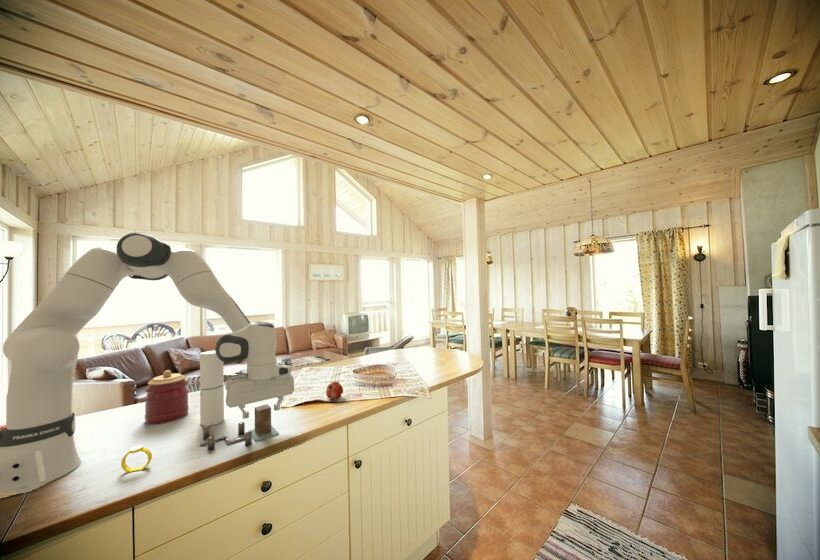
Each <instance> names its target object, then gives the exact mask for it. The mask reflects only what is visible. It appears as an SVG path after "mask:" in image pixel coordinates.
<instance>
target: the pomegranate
mask: <svg viewBox="0 0 820 560" xmlns="http://www.w3.org/2000/svg"><path fill="white" fill-rule="evenodd" d="M343 392H344V389H343V386H342V384H341V383H340V382H339V381H332V382H331V383H330V384H328V385H327V387H326V389H325V393H326V398H328V399H329V398H331V399H330V400H333V399H338V398H339V399H340V398H341V397H342V394H343ZM339 399H338V400H339Z"/></svg>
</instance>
